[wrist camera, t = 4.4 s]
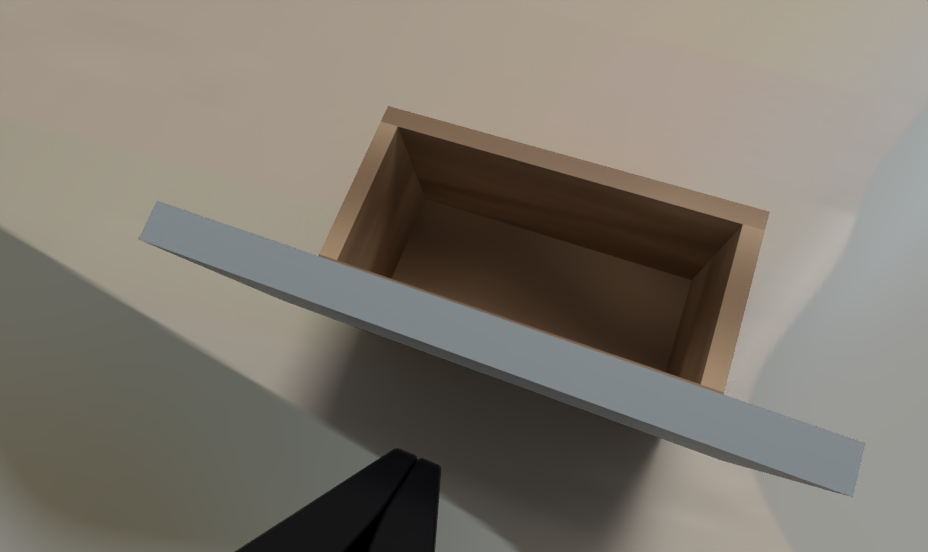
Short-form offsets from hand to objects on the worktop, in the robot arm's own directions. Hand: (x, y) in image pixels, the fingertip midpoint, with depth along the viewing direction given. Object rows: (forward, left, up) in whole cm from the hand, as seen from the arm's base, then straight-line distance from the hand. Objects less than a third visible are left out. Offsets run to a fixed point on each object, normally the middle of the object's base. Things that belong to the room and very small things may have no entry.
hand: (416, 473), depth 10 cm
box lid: (+3, 0, -2) cm, 4 cm away
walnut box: (+7, 0, -12) cm, 14 cm away
